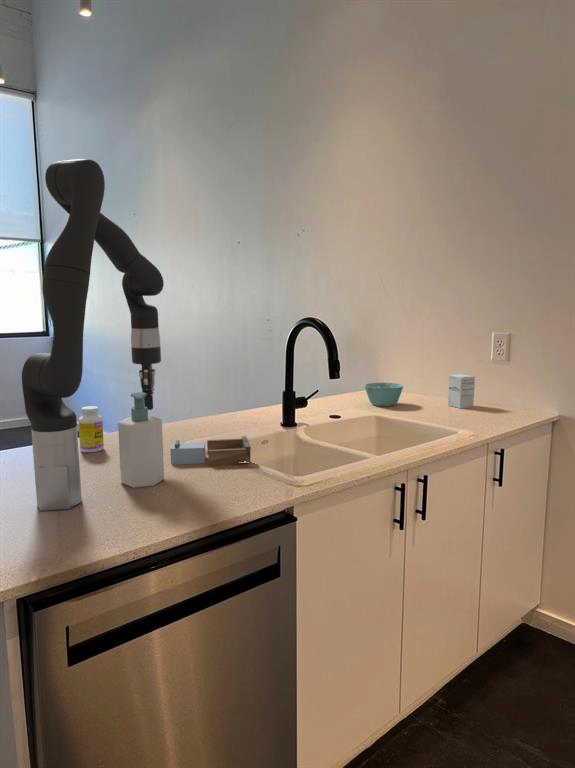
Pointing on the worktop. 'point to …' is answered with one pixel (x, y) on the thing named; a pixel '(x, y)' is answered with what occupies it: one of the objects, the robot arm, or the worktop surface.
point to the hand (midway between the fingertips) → (149, 409)
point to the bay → (228, 451)
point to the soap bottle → (141, 446)
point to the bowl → (383, 393)
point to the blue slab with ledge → (187, 453)
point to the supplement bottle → (91, 430)
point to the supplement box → (461, 391)
